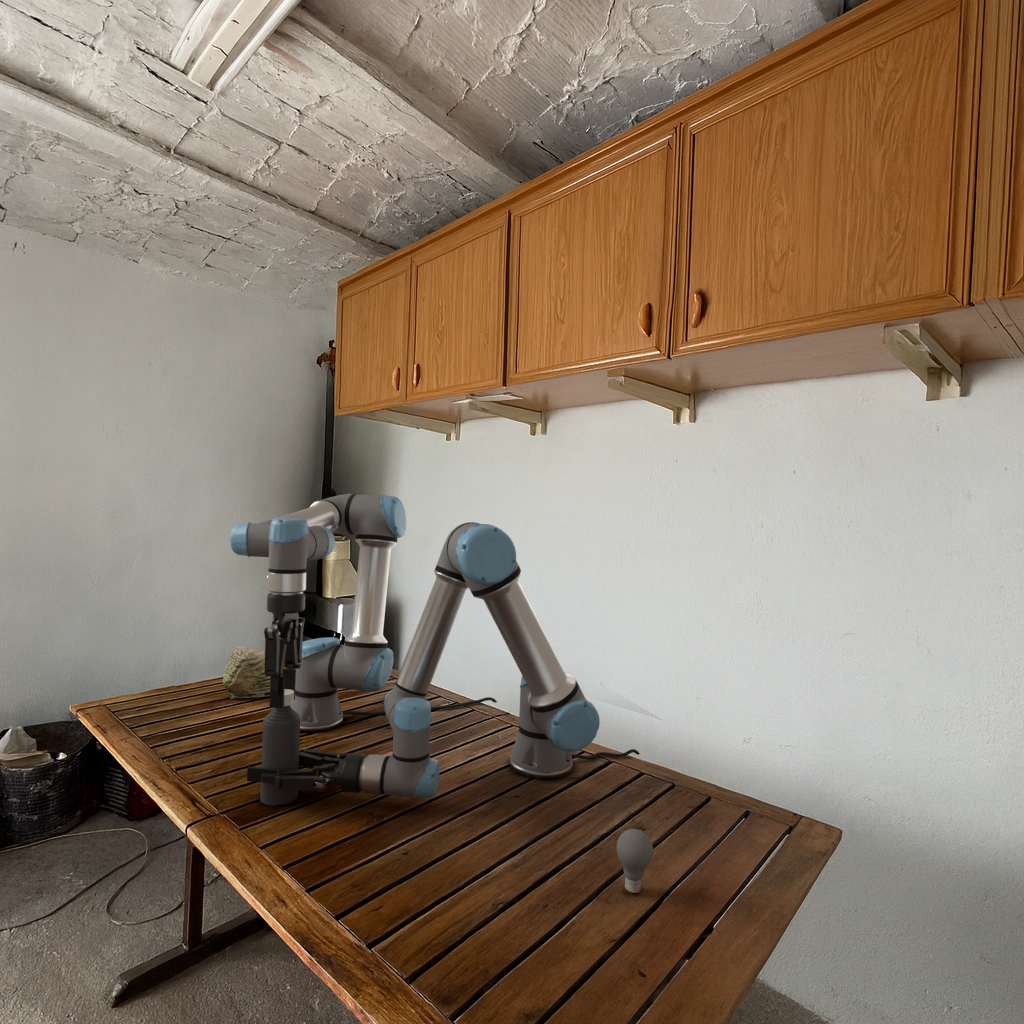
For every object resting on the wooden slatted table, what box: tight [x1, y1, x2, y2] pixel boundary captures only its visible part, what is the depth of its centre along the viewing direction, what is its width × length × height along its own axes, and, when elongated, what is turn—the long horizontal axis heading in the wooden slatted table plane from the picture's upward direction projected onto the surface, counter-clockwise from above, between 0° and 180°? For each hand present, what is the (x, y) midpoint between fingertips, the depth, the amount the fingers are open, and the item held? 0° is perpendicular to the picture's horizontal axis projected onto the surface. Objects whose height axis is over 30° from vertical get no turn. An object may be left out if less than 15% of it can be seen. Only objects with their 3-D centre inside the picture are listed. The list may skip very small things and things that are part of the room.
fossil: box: [222, 646, 271, 699], centre depth 198 cm, size 9×18×15 cm, turn 132°
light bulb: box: [615, 828, 654, 894], centre depth 106 cm, size 6×6×10 cm
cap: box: [284, 689, 294, 706], centre depth 132 cm, size 4×4×2 cm
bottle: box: [259, 705, 301, 806], centre depth 133 cm, size 7×7×22 cm
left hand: (282, 703), depth 133 cm, fingers closed on cap, 4 cm apart
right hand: (257, 765), depth 133 cm, fingers closed on bottle, 7 cm apart
